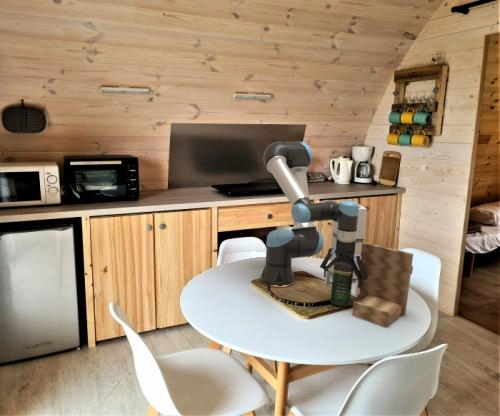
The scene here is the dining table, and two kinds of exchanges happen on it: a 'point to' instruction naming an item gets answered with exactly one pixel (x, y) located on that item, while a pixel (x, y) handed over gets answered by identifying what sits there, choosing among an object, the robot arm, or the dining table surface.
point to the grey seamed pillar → (358, 240)
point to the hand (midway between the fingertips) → (341, 290)
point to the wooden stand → (383, 284)
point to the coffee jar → (341, 283)
